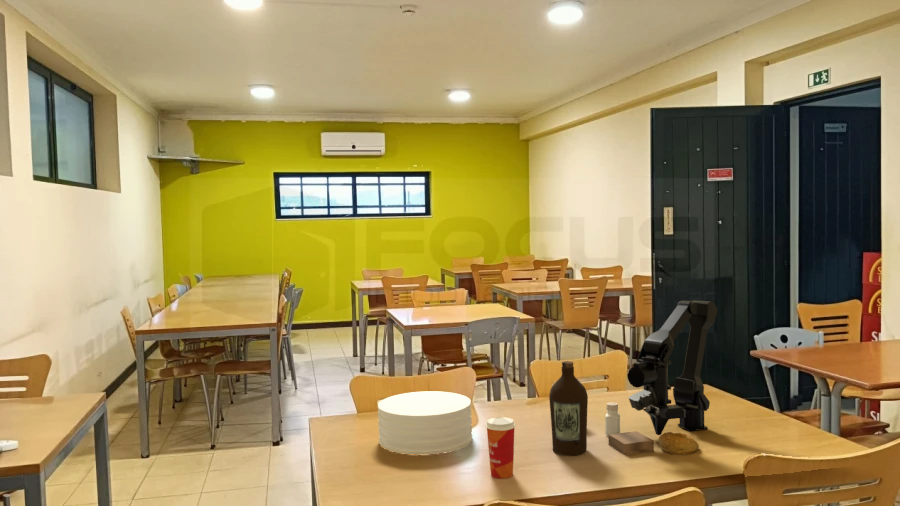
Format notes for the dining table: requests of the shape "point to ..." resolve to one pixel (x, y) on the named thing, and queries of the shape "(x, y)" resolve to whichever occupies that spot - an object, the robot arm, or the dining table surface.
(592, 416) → the dining table surface
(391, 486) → the dining table surface
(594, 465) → the dining table surface
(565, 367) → the olive oil
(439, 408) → the plate stack
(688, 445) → the bagel
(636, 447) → the walnut block
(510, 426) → the paper cup
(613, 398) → the dining table surface
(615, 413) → the pepper shaker
